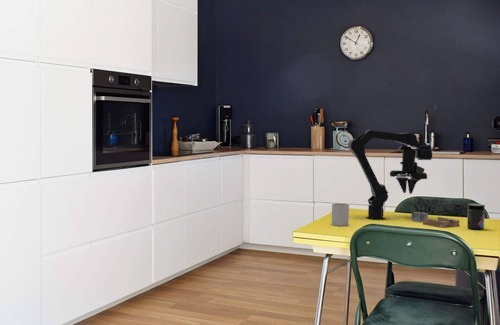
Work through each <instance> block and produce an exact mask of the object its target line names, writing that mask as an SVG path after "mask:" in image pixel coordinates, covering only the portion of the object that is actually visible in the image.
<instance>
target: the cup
mask: <svg viewBox="0 0 500 325" xmlns="http://www.w3.org/2000/svg"><path fill="white" fill-rule="evenodd" d="M349 211H350V204H348V203H332V204H331V225H332V226H334V227H348V226H349V223H350V221H349V217H350V216H349V215H350V212H349Z"/></svg>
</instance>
